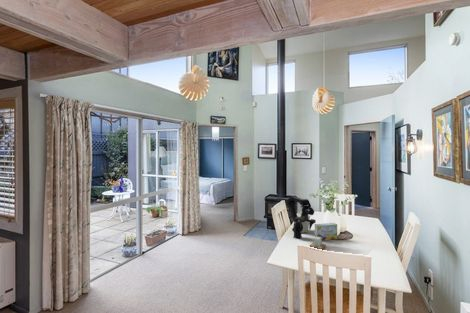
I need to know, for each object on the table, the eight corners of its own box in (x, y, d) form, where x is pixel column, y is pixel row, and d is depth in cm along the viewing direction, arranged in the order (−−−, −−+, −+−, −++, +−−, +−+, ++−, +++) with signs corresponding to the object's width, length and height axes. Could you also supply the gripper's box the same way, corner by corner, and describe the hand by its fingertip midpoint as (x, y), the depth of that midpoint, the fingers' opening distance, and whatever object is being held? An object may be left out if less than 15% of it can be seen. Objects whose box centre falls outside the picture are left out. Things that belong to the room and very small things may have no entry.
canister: (307, 235, 257) (307, 214, 256) (290, 232, 267) (290, 212, 266) (312, 230, 272) (312, 210, 271) (296, 227, 282) (296, 208, 281)
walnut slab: (309, 248, 223) (309, 245, 223) (314, 245, 232) (314, 241, 232) (321, 251, 216) (321, 248, 216) (326, 247, 225) (326, 244, 225)
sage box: (314, 245, 223) (314, 237, 223) (316, 243, 227) (315, 236, 227) (319, 246, 220) (319, 239, 220) (321, 244, 224) (321, 237, 224)
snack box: (317, 241, 240) (317, 225, 239) (314, 239, 245) (314, 223, 245) (337, 239, 244) (337, 223, 243) (334, 237, 249) (334, 222, 249)
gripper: (291, 213, 238) (292, 229, 239) (310, 216, 226) (311, 233, 227) (297, 210, 247) (297, 226, 247) (315, 213, 235) (316, 230, 235)
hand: (305, 229), depth 239 cm, fingers open, 9 cm apart
